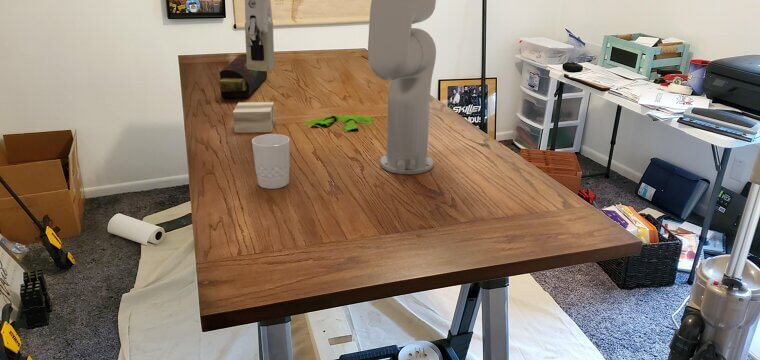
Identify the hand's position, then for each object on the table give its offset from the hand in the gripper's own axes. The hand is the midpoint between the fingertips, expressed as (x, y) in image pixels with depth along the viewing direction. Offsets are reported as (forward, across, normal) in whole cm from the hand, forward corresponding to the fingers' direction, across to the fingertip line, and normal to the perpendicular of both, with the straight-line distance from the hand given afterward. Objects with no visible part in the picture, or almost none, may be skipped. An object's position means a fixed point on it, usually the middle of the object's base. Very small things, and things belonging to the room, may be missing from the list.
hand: (260, 57), depth 148 cm
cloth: (+21, +7, -20) cm, 30 cm away
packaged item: (+21, +48, +18) cm, 55 cm away
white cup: (+20, -36, -10) cm, 42 cm away
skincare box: (+3, 0, 0) cm, 3 cm away
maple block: (+21, +3, +4) cm, 21 cm away
